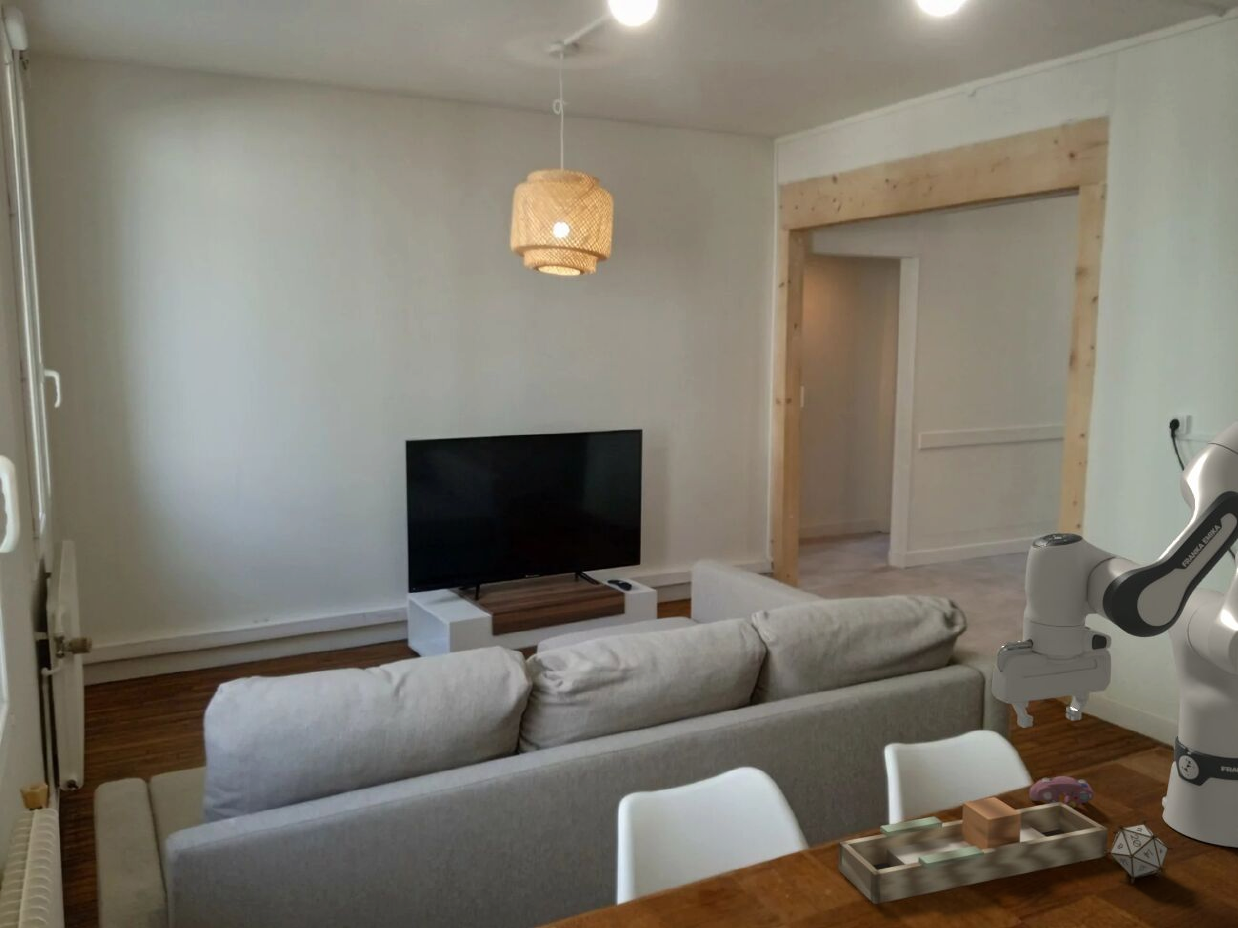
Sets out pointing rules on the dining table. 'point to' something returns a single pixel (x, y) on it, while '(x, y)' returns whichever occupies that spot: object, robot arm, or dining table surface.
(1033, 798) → the video game controller
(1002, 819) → the block
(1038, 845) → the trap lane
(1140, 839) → the game die
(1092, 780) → the dining table surface
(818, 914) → the dining table surface
